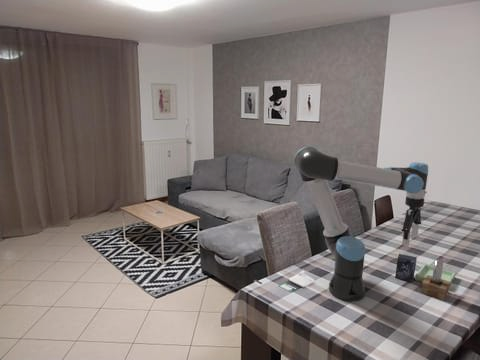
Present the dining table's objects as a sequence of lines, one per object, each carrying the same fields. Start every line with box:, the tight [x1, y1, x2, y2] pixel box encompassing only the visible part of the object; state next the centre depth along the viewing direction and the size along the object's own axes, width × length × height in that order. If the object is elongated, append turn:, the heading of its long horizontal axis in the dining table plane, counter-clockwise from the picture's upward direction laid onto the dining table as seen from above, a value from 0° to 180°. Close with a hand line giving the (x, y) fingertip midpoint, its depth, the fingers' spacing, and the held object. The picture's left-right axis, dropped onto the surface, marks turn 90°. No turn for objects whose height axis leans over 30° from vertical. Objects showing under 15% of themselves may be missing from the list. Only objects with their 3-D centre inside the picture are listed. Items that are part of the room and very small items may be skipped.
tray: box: [414, 263, 456, 288], centre depth 164 cm, size 16×14×2 cm
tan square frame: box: [420, 275, 451, 301], centre depth 152 cm, size 9×9×5 cm
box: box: [394, 253, 417, 283], centre depth 164 cm, size 8×6×11 cm
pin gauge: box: [432, 258, 445, 285], centre depth 150 cm, size 3×3×15 cm
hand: (409, 241), depth 161 cm, fingers open, 13 cm apart
